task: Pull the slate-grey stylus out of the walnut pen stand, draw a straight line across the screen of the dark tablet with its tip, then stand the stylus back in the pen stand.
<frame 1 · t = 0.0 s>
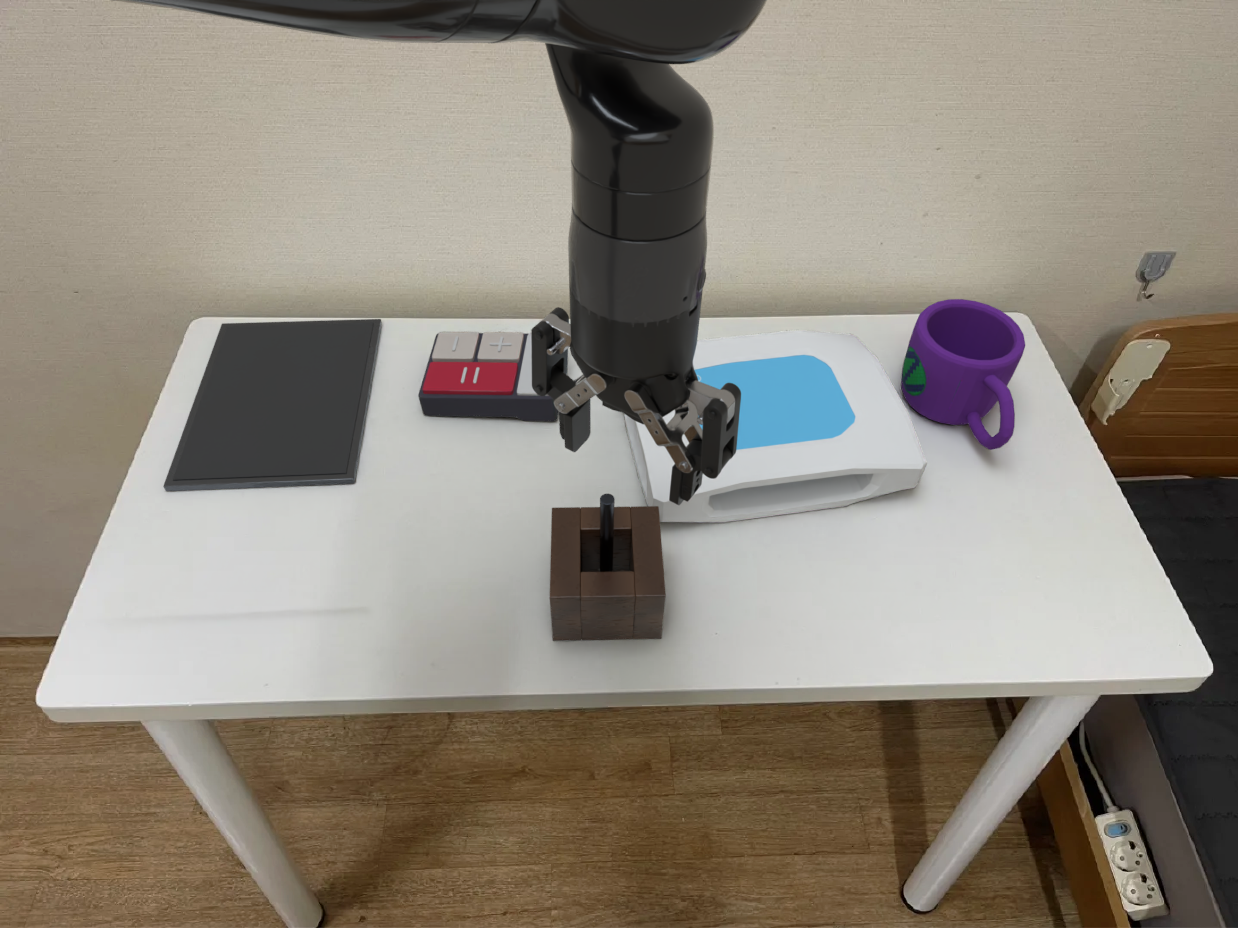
hand: (628, 469, 61), 24 cm above the table, tool pointing down, fingers open, 8 cm apart
mug: (955, 417, 100), on the table
stylus: (606, 549, 78), in the pen stand
document scanner: (758, 441, 97), on the table
tablet: (283, 399, 100), on the table
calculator: (496, 387, 102), on the table
pen stand: (606, 594, 83), on the table
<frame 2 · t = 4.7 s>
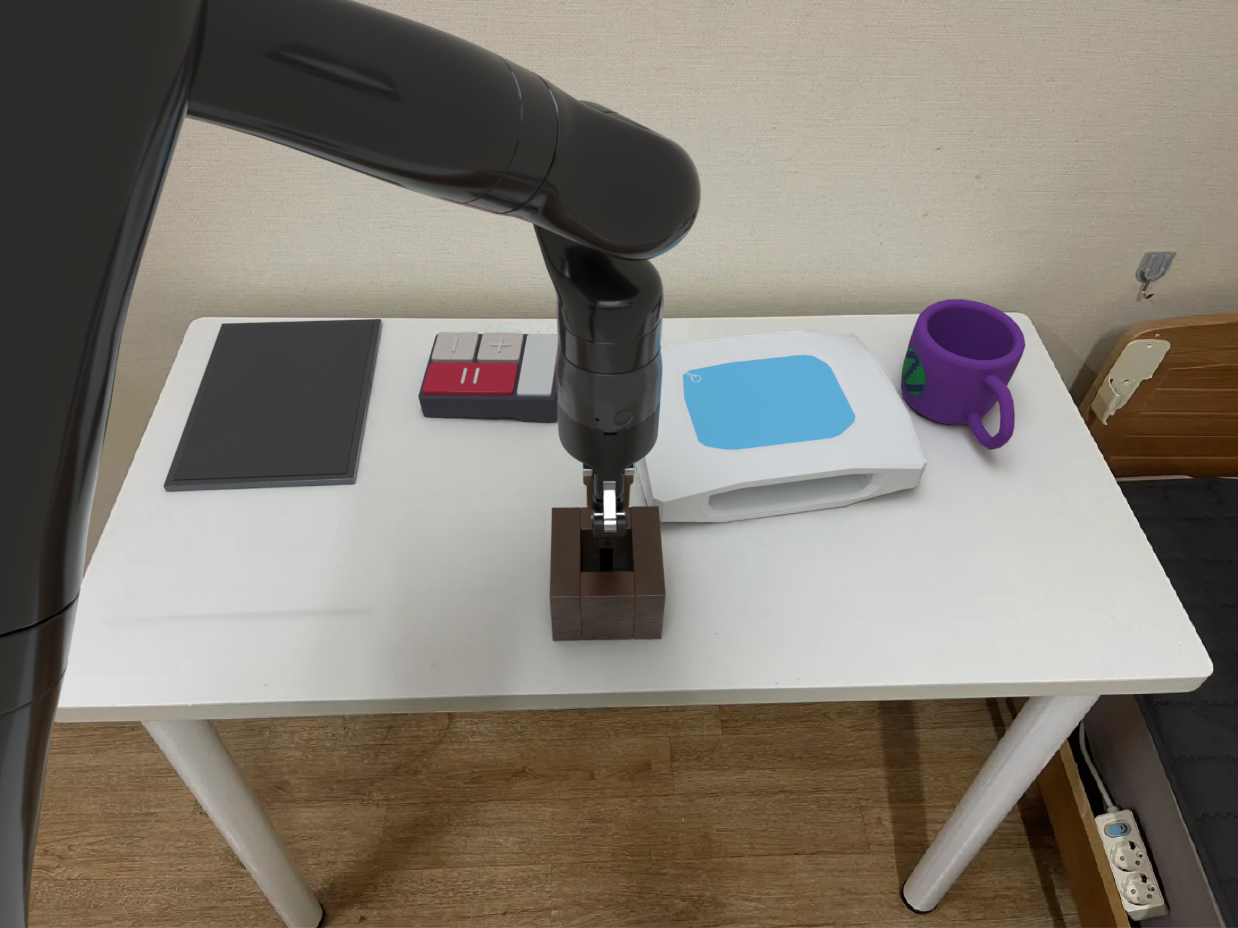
hand: (606, 536, 76), 9 cm above the table, tool pointing down, fingers closed on stylus, 1 cm apart
stylus: (606, 549, 78), in the pen stand, touching gripper
everything else where it was.
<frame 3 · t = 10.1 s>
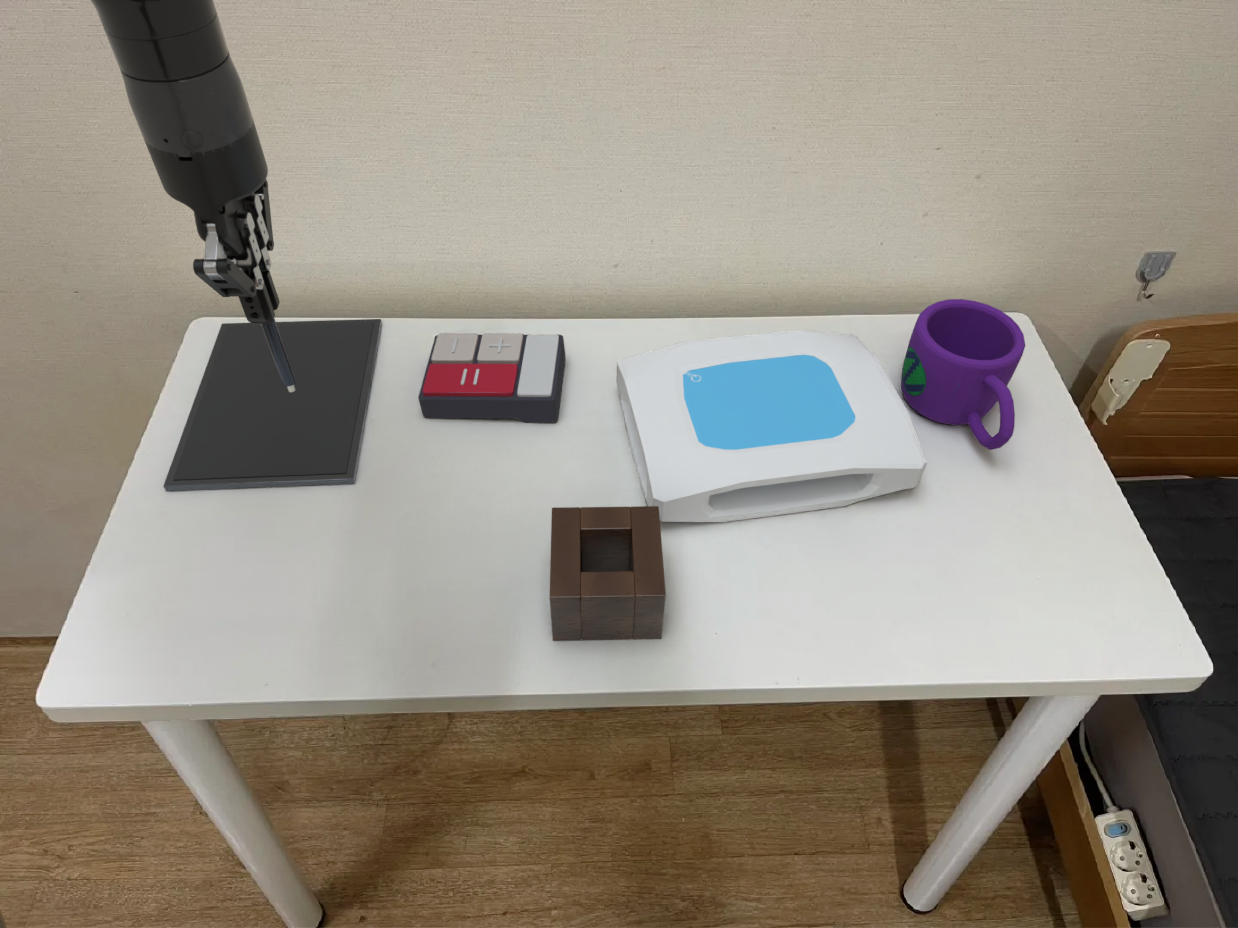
hand: (264, 313, 76), 21 cm above the table, tool pointing down, fingers closed on stylus, 1 cm apart
stylus: (271, 331, 78), point 19 cm above the table, touching gripper
everything else where it was.
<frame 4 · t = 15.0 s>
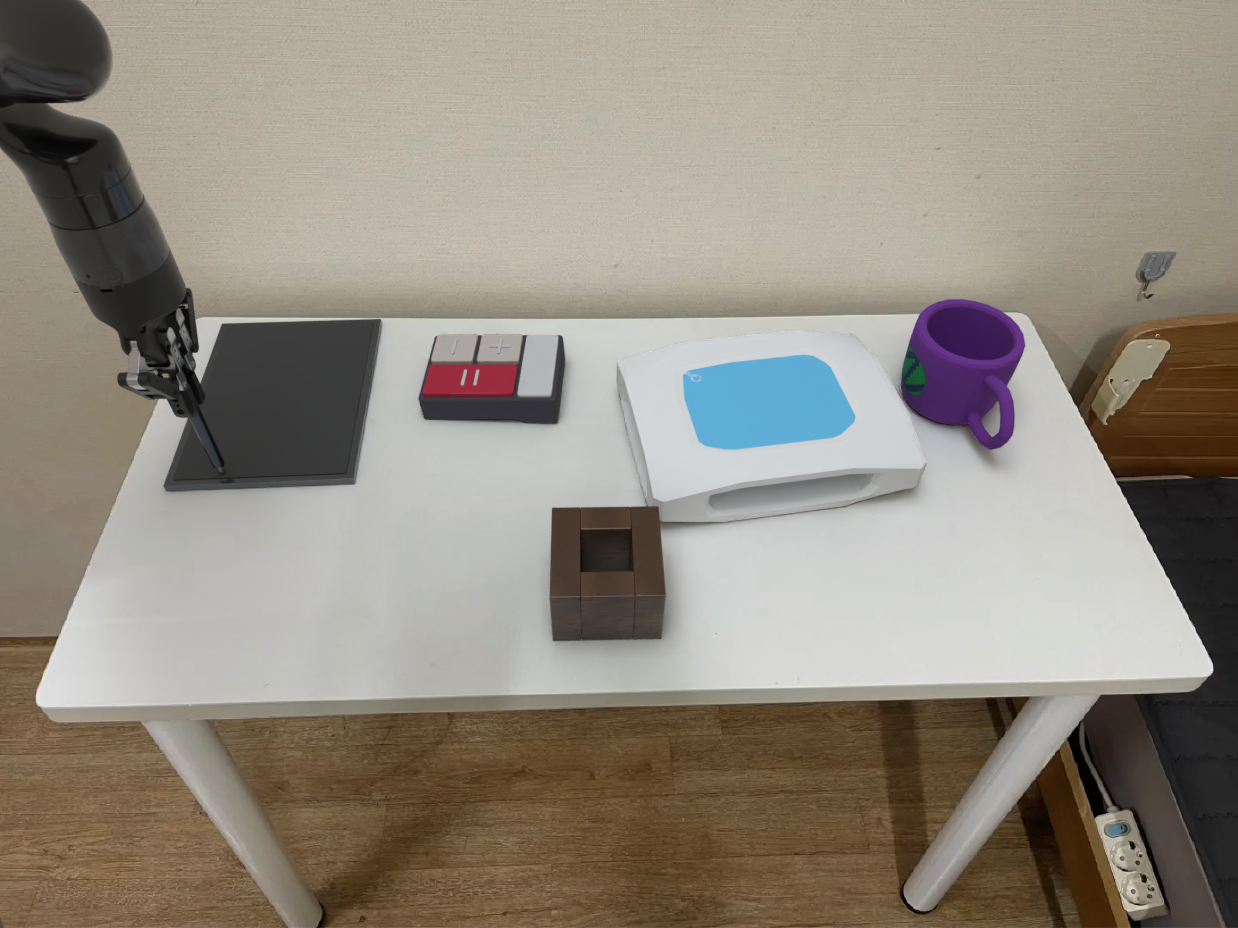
hand: (191, 408, 84), 10 cm above the table, tool pointing down, fingers closed on stylus, 1 cm apart
stylus: (199, 423, 86), point 8 cm above the table, touching gripper
everything else where it was.
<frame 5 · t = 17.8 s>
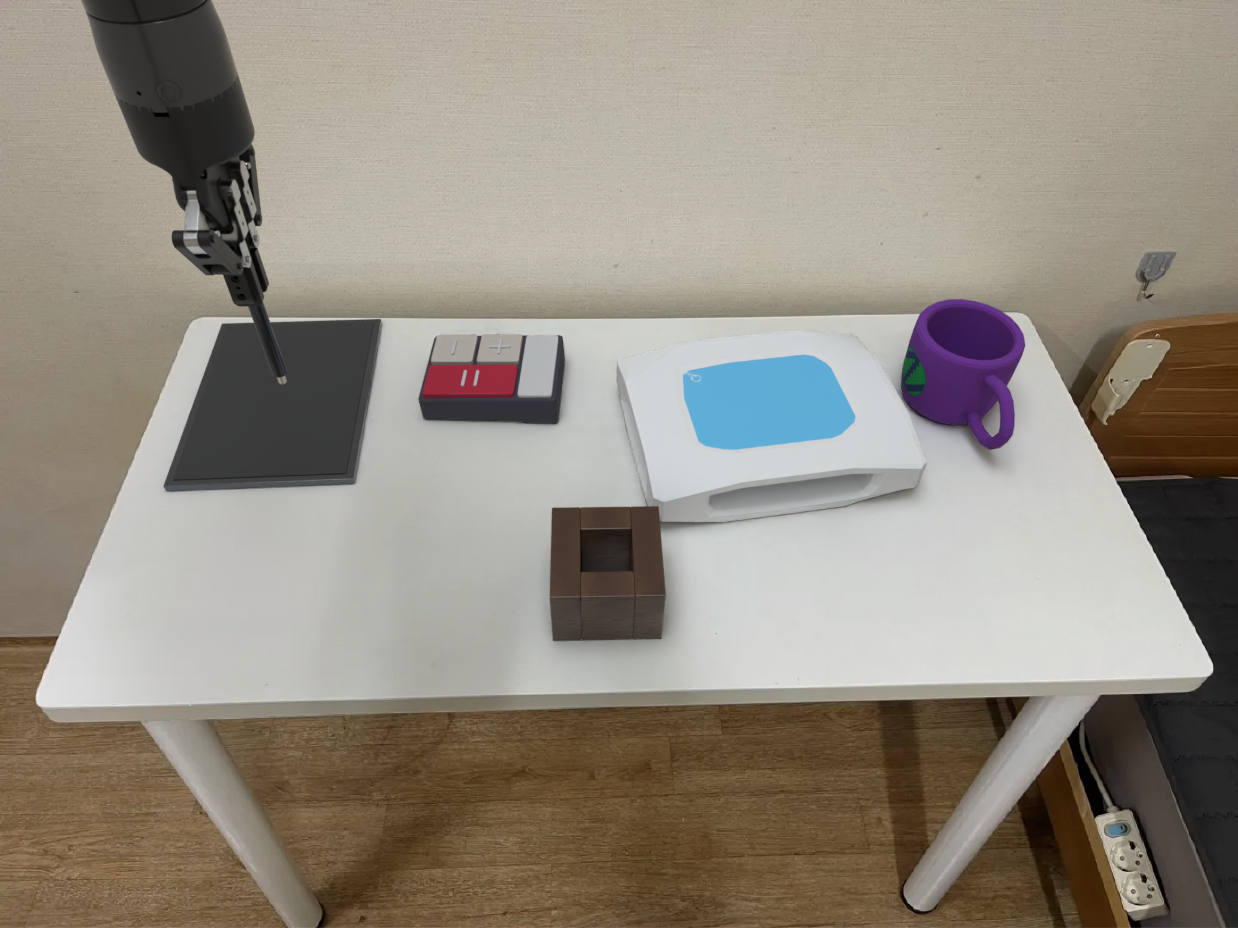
hand: (252, 296, 69), 27 cm above the table, tool pointing down, fingers closed on stylus, 1 cm apart
stylus: (260, 316, 71), point 25 cm above the table, touching gripper
everything else where it was.
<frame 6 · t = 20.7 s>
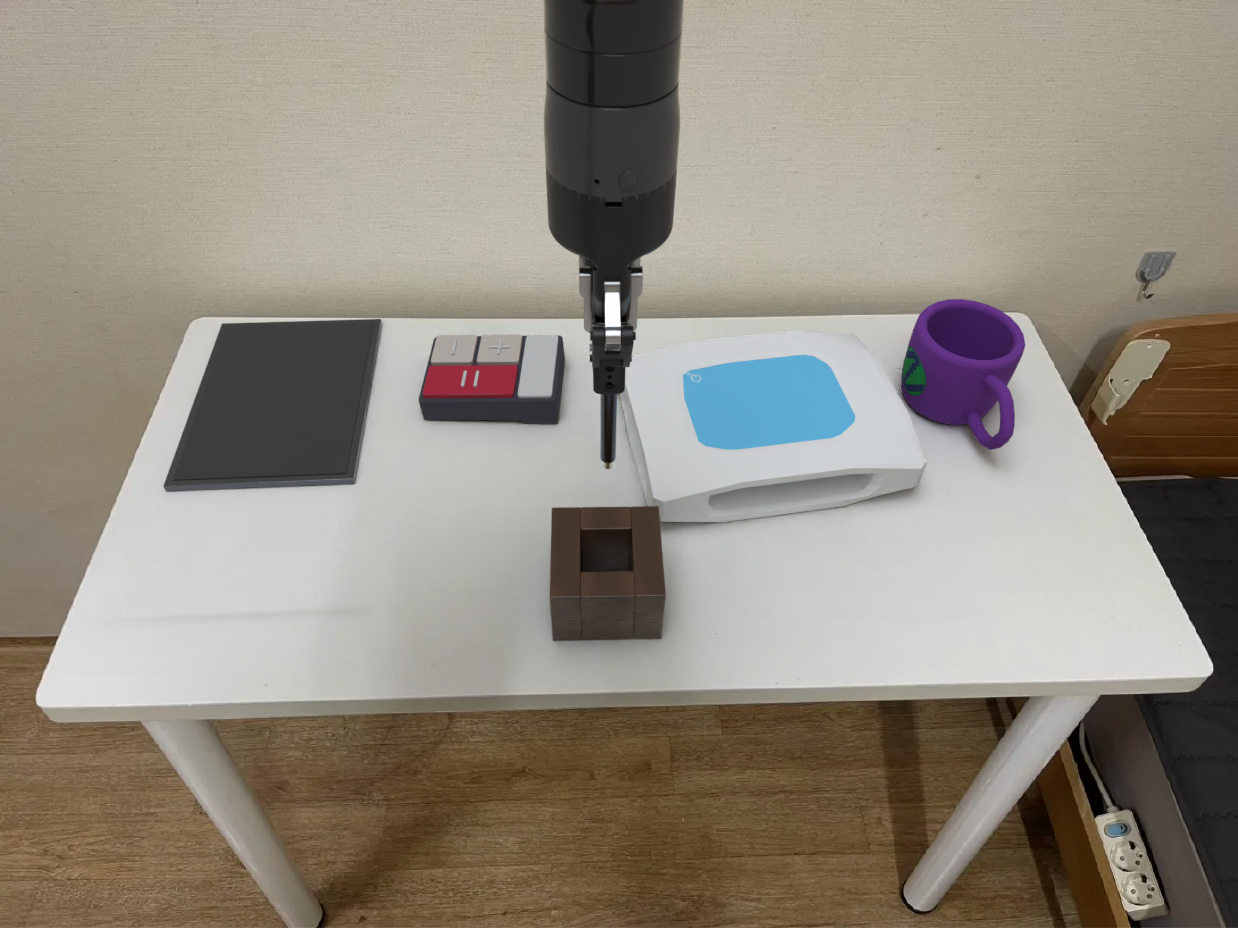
hand: (608, 381, 63), 27 cm above the table, tool pointing down, fingers closed on stylus, 1 cm apart
stylus: (608, 402, 65), point 25 cm above the table, touching gripper
everything else where it was.
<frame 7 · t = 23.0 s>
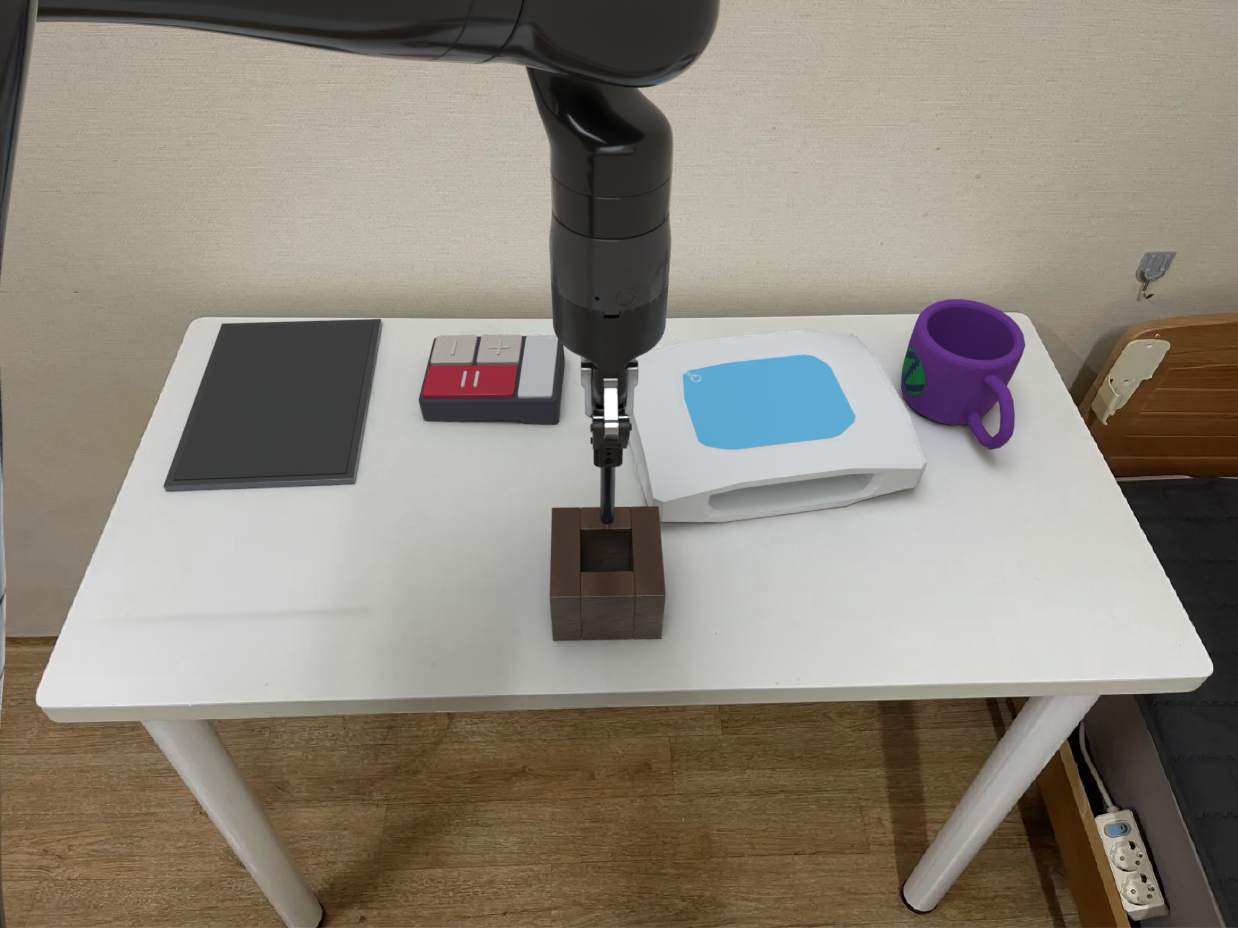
hand: (607, 455, 69), 19 cm above the table, tool pointing down, fingers closed on stylus, 1 cm apart
stylus: (607, 472, 70), point 17 cm above the table, touching gripper
everything else where it was.
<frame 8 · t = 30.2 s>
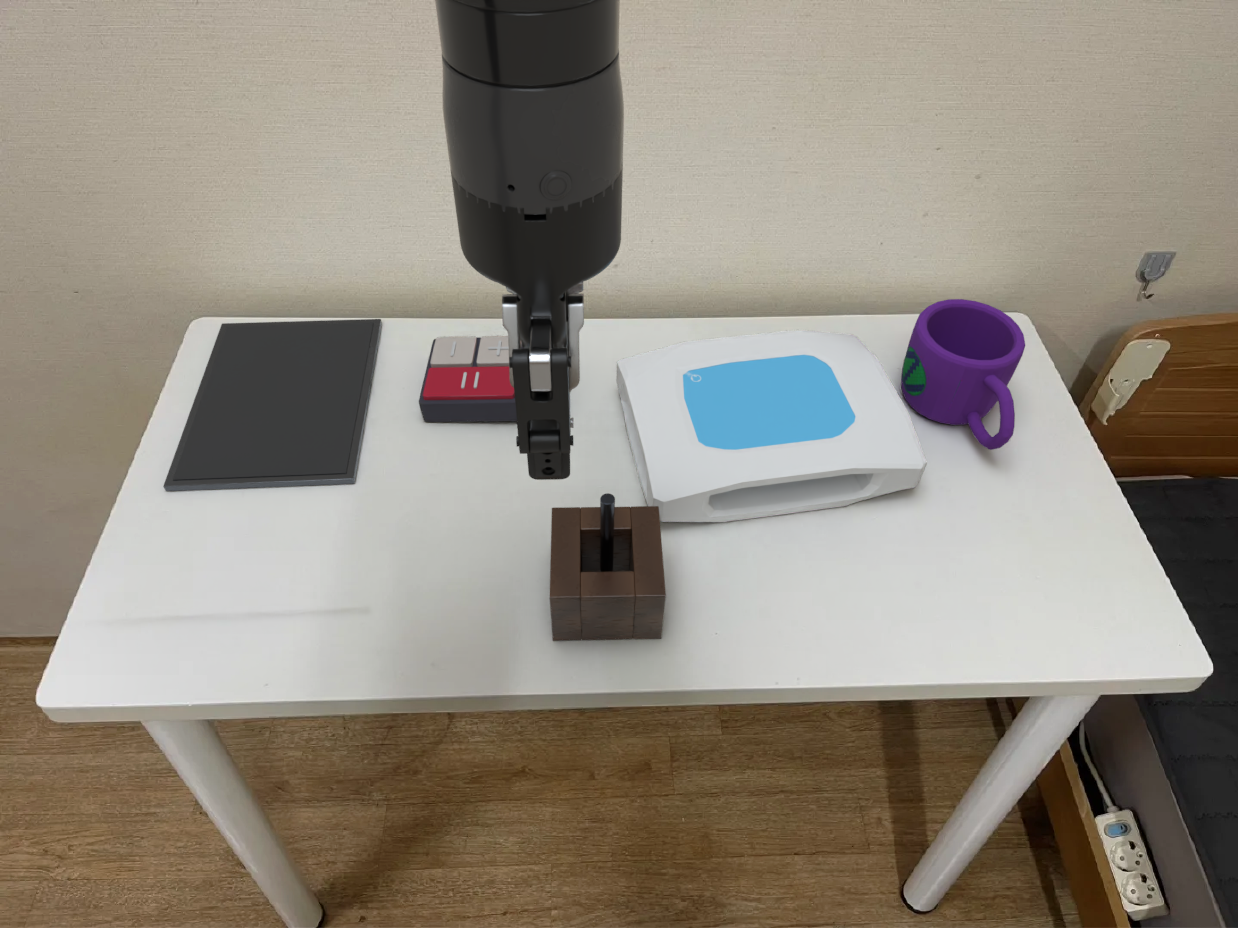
hand: (551, 418, 51), 34 cm above the table, tool pointing down, fingers open, 8 cm apart
stylus: (606, 549, 78), in the pen stand
everything else where it was.
at the end: stylus 0.0 cm off-centre in the pen stand, point 7.0 cm above the pen stand's base; stylus tilted 0°; stylus touching table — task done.
